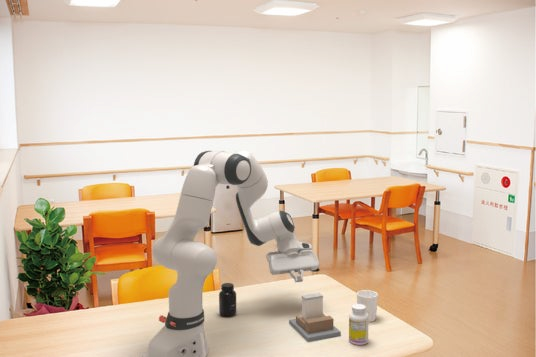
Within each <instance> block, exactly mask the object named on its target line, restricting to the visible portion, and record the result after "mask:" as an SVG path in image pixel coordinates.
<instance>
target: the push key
mask: <svg viewBox="0 0 536 357" xmlns="http://www.w3.org/2000/svg"><path fill="white" fill-rule="evenodd" d="M323 299H324V295H323V294H322V293H321V292H314V293H309V294H301V318H302V319H303V320H304V321H305V320H307V319H313V318H319V317H323V314H324V312H323V311H324V310H323V309H324V308H323V305H324V304H323V303H324V302H323V301H324V300H323Z"/></svg>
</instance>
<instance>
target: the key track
mask: <svg viewBox="0 0 536 357" xmlns="http://www.w3.org/2000/svg"><path fill="white" fill-rule="evenodd" d="M288 324H289V325H290V326H291V327H292V328H293V329H294V330H295V331H296V332H297V333H298V334H299V335H300V336H301V337H302V338H303V339H304V340H305V341H306V342H308V343H309V342H315V341H320V340H325V339H330V338H335V337H341V335H342V331H341V330H339V328H337V327H336V326H335V325H334V318H333V317H332V316H331V315H326V314H324V313H323V317H319V318H313V319H307V320H305V321H304V320H303V319H302V316H300V315H296V316H295V318H290V319H289V320H288Z"/></svg>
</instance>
